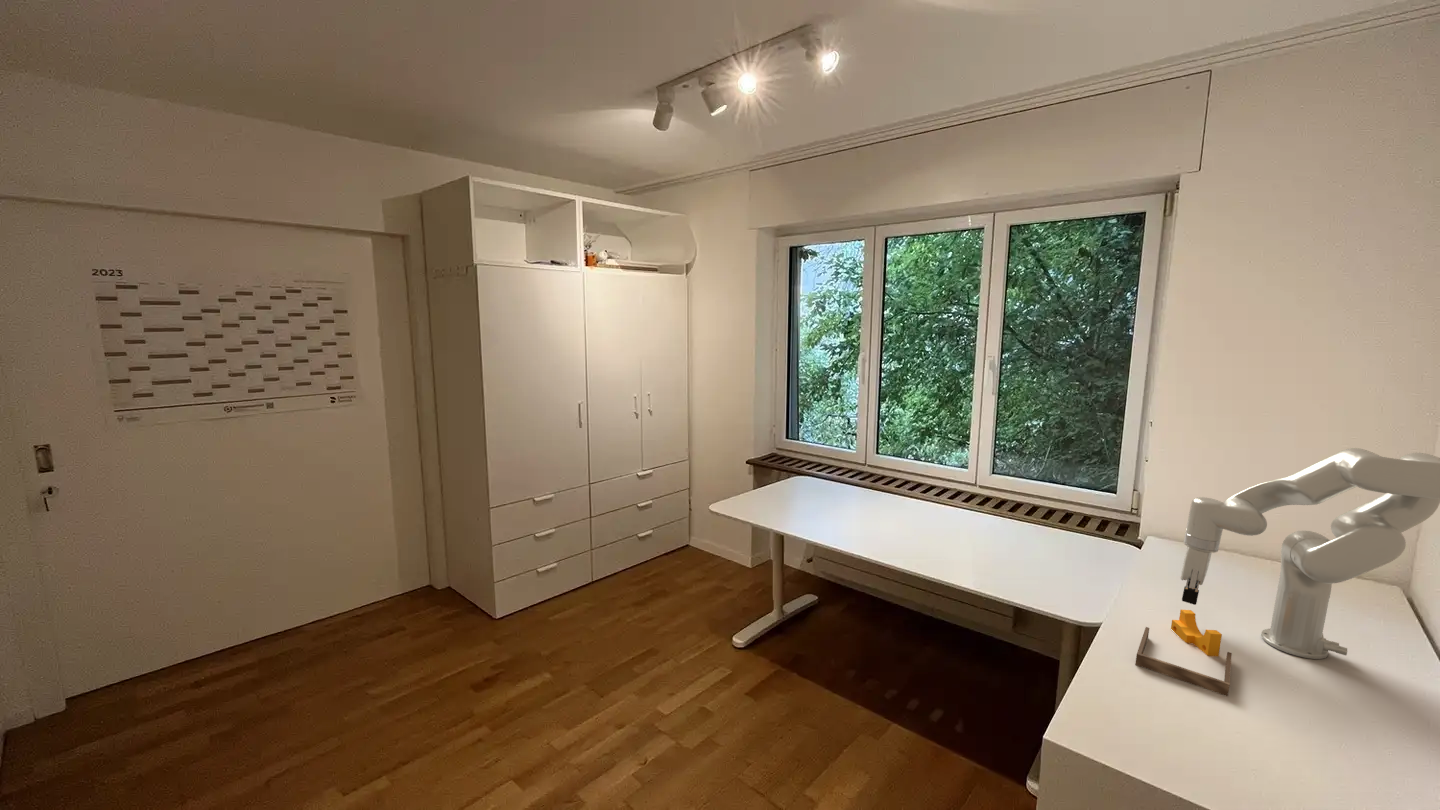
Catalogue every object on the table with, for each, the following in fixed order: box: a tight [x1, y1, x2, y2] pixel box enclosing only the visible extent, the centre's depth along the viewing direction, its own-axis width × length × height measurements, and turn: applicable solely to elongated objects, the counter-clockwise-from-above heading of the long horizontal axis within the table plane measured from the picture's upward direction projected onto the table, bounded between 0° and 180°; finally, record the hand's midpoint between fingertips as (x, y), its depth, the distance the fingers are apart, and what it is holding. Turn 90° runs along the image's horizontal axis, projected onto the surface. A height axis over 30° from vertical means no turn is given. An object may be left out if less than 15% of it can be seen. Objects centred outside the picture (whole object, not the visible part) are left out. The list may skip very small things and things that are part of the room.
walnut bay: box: [1134, 626, 1233, 697], centre depth 143 cm, size 18×17×3 cm
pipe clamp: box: [1170, 609, 1223, 657], centre depth 152 cm, size 12×4×6 cm, turn 172°
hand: (1189, 601), depth 161 cm, fingers closed
